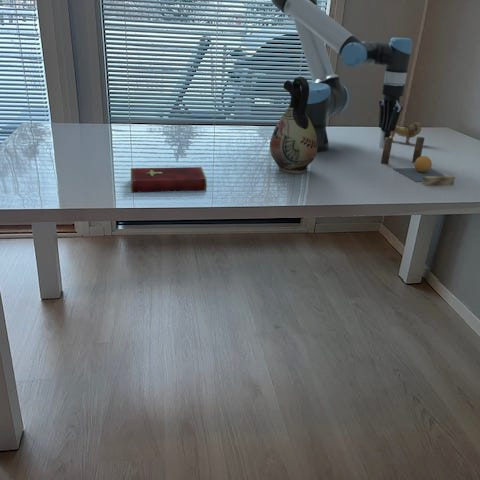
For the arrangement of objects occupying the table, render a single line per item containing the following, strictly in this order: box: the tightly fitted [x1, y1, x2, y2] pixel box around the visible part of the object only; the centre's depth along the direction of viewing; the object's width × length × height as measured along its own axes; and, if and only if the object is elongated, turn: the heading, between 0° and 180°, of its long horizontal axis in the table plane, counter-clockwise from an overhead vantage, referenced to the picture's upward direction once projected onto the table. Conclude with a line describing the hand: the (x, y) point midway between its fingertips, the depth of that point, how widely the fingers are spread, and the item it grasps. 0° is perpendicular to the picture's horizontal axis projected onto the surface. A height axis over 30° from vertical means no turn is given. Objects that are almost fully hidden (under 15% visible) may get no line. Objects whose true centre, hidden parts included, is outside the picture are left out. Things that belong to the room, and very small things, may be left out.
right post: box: [411, 136, 425, 164], centre depth 174 cm, size 3×3×9 cm
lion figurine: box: [390, 121, 423, 146], centre depth 202 cm, size 15×5×9 cm, turn 70°
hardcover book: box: [130, 166, 208, 193], centre depth 141 cm, size 12×21×4 cm, turn 101°
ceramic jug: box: [269, 76, 318, 174], centre depth 154 cm, size 17×15×30 cm
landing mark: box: [392, 167, 445, 183], centre depth 163 cm, size 14×14×1 cm
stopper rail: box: [421, 174, 456, 187], centre depth 153 cm, size 10×2×2 cm, turn 104°
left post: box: [380, 136, 394, 165], centre depth 171 cm, size 3×3×9 cm
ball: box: [414, 155, 433, 172], centre depth 164 cm, size 6×6×6 cm
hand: (383, 148), depth 185 cm, fingers closed
